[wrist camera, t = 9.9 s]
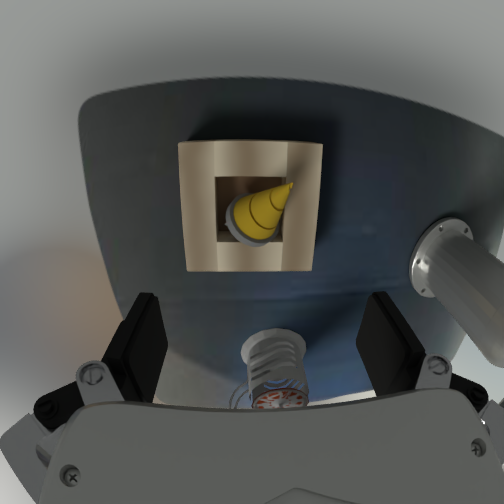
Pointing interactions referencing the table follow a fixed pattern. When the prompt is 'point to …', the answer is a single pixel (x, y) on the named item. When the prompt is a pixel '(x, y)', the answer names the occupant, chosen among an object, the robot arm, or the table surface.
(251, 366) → the french press
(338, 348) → the table surface
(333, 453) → the robot arm
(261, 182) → the socket block
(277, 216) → the yellow stepped cone
